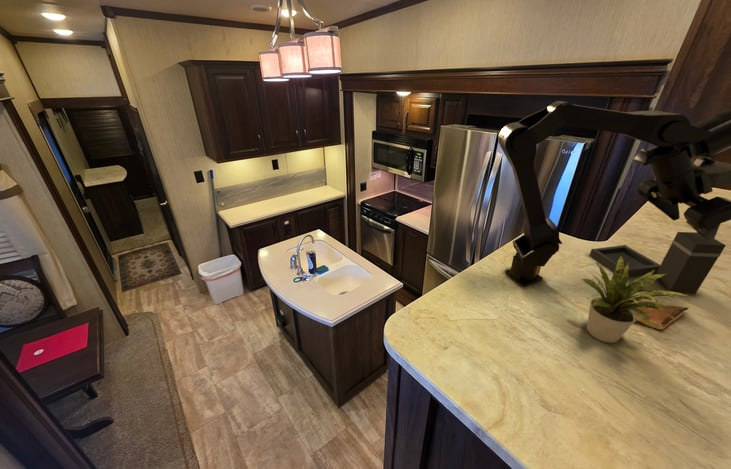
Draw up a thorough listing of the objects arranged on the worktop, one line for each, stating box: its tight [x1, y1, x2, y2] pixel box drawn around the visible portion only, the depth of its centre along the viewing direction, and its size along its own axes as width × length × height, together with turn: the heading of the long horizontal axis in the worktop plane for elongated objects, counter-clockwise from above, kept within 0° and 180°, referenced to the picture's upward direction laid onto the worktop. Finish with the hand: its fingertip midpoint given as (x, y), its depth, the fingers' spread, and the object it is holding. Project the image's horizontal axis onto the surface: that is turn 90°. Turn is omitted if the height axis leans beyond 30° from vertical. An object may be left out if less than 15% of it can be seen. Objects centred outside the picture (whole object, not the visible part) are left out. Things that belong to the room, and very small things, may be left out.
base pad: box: [589, 244, 661, 278], centre depth 76 cm, size 10×10×2 cm
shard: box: [634, 299, 689, 331], centre depth 59 cm, size 11×8×2 cm
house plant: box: [581, 256, 690, 343], centre depth 53 cm, size 14×14×16 cm
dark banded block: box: [655, 231, 726, 295], centre depth 65 cm, size 5×6×13 cm
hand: (692, 228), depth 62 cm, fingers open, 9 cm apart
